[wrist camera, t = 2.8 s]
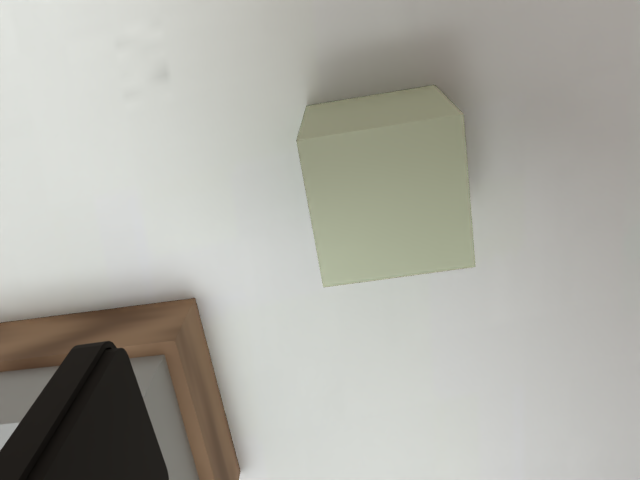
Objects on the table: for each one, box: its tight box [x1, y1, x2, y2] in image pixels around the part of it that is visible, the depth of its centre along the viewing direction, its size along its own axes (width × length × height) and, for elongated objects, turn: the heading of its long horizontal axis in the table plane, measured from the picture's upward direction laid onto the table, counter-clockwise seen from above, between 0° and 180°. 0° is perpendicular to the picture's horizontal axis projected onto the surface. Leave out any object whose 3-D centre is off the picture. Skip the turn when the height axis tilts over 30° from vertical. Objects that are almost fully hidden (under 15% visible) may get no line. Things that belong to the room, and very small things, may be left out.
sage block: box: [296, 85, 475, 287], centre depth 22 cm, size 5×5×6 cm
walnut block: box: [0, 298, 240, 480], centre depth 28 cm, size 10×10×4 cm
